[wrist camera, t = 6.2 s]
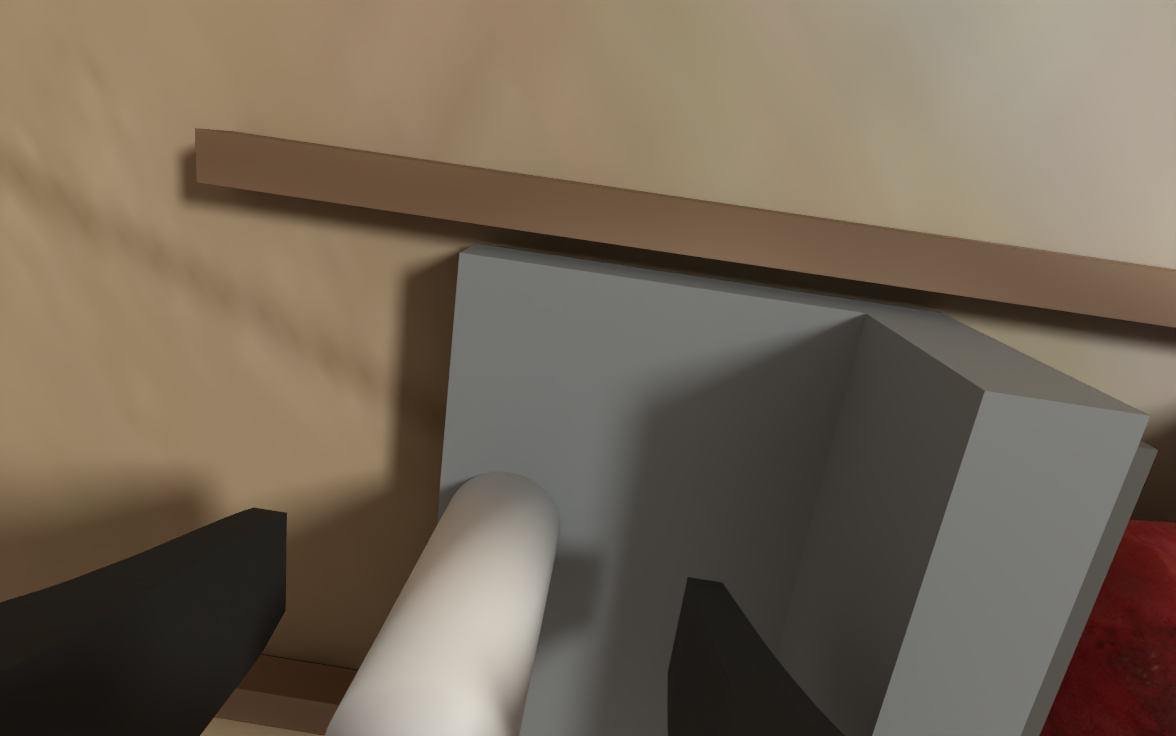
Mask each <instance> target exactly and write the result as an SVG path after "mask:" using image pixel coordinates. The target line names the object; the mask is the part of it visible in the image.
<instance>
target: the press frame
mask: <svg viewBox="0 0 1176 736" xmlns="http://www.w3.org/2000/svg"><path fill="white" fill-rule="evenodd" d="M195 145H196V181H197V182H198V183H204V184H211V185H218V186H224V187H231V188H238V189H245V190H251V191H258V192H265V193H272V194H278V195H285V196H292V197H299V198H305V199H312V200H319V201H326V202H332V203H339V204H346V205H353V206H359V207H366V208H373V209H379V210H386V211H393V212H400V213H406V214H413V215H420V216H427V217H433V218H440V219H447V220H454V221H460V222H467V223H474V224H481V225H487V226H494V227H501V228H508V229H514V230H521V231H528V232H534V233H541V234H548V235H555V236H561V237H568V238H575V239H582V240H588V241H595V242H602V243H609V244H615V245H622V246H629V247H636V248H642V249H649V250H656V251H663V252H669V253H676V254H683V255H689V256H696V257H703V258H710V259H716V260H723V261H730V262H737V263H743V264H750V265H757V266H764V267H770V268H777V269H784V270H791V271H797V272H804V273H811V274H817V275H824V276H831V277H838V278H844V279H851V280H858V281H865V282H871V283H878V284H885V285H892V286H898V287H905V288H912V289H919V290H925V291H932V292H939V293H946V294H952V295H959V296H966V297H972V298H979V299H986V300H993V301H999V302H1006V303H1013V304H1020V305H1026V306H1033V307H1040V308H1047V309H1053V310H1060V311H1067V312H1074V313H1080V314H1087V315H1094V316H1101V317H1107V318H1114V319H1121V320H1127V321H1134V322H1141V323H1148V324H1154V325H1161V326H1168V327H1175V328H1176V270H1174V269H1167V268H1161V267H1154V266H1147V265H1140V264H1133V263H1126V262H1120V261H1113V260H1106V259H1099V258H1092V257H1086V256H1079V255H1072V254H1065V253H1058V252H1051V251H1045V250H1038V249H1031V248H1024V247H1017V246H1011V245H1004V244H997V243H990V242H983V241H976V240H970V239H963V238H956V237H949V236H942V235H935V234H929V233H922V232H915V231H908V230H901V229H895V228H888V227H881V226H874V225H867V224H860V223H854V222H847V221H840V220H833V219H826V218H819V217H813V216H806V215H799V214H792V213H785V212H779V211H772V210H765V209H758V208H751V207H744V206H738V205H731V204H724V203H717V202H710V201H703V200H697V199H690V198H683V197H676V196H669V195H663V194H656V193H649V192H642V191H635V190H628V189H622V188H615V187H608V186H601V185H594V184H587V183H581V182H574V181H567V180H560V179H553V178H547V177H540V176H533V175H526V174H519V173H512V172H506V171H499V170H492V169H485V168H478V167H472V166H465V165H458V164H451V163H444V162H437V161H431V160H424V159H417V158H410V157H403V156H396V155H390V154H383V153H376V152H369V151H362V150H356V149H349V148H342V147H335V146H328V145H321V144H315V143H308V142H301V141H294V140H287V139H280V138H274V137H267V136H260V135H253V134H246V133H240V132H233V131H222V130H209V129H196V128H195ZM357 672H358V670H351V669H345V668H339V667H333V666H327V665H321V664H315V663H309V662H302V661H296V660H290V659H284V658H278V657H272V656H266V655H260V656H259V658H258V659H257V661H256V662H255V664H254V665H253V666H252V668H251V669H250V670H249V672H248V673H247V674H246V676H245V677H244V678H243V680H242V681H241V682H240V684H239V685H238V686H237V688H236V689H235V690H234V692H233V693H232V694H231V696H230V697H229V698H228V700H227V701H226V702H225V703H224V705H223V706H222V707H221V709H220V710H219V711H218V713H217V714H216V715H215V716H214V717H217V718H223V719H229V720H235V721H241V722H247V723H253V724H259V725H265V726H271V727H277V728H283V729H289V730H295V731H301V732H307V733H313V734H319V735H325V734H326V731H327V728H328V726H329V724H330V722H331V720H332V718H333V716H334V714H335V712H336V710H337V709H338V707H339V705H340V703H341V701H342V699H343V698H344V696H345V694H346V692H347V690H348V688H349V686H350V685H351V683H352V681H353V679H354V677H355V675H356V674H357Z"/></svg>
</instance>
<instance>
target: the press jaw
mask: <svg viewBox="0 0 1176 736" xmlns="http://www.w3.org/2000/svg"><path fill="white" fill-rule="evenodd" d="M1149 418H1150V415H1148V414H1146V413H1144V412H1142V411H1140V410H1138V409H1136V408H1133V407H1131V406H1129V405H1127V404H1125V403H1123V402H1121V401H1119V400H1117V399H1115V398H1113V397H1111V396H1109V395H1107V394H1105V393H1103V392H1101V391H1099V390H1097V389H1095V388H1093V387H1091V386H1089V385H1087V384H1085V383H1083V382H1081V381H1078V380H1076V379H1074V378H1072V377H1070V376H1068V375H1066V374H1064V373H1062V372H1060V371H1058V370H1056V369H1054V368H1052V367H1050V366H1048V365H1046V364H1044V363H1042V362H1040V361H1038V360H1036V359H1034V358H1032V357H1030V356H1028V355H1026V354H1024V353H1021V352H1019V351H1017V350H1015V349H1013V348H1011V347H1009V346H1007V345H1005V344H1003V343H1001V342H999V341H997V340H995V339H993V338H991V337H989V336H987V335H985V334H983V333H981V332H979V331H977V330H975V329H973V328H971V327H969V326H967V325H964V324H962V323H960V322H958V321H956V320H954V319H952V318H950V317H948V316H946V315H944V314H942V313H940V312H933V311H927V310H920V309H913V308H907V307H900V306H893V305H886V304H880V303H873V302H866V301H860V300H853V299H846V298H839V297H833V296H826V295H819V294H813V293H806V292H799V291H792V290H786V289H779V288H772V287H766V286H759V285H752V284H746V283H739V282H732V281H725V280H719V279H712V278H705V277H699V276H692V275H685V274H678V273H672V272H665V271H658V270H652V269H645V268H638V267H631V266H625V265H618V264H611V263H605V262H598V261H591V260H584V259H578V258H571V257H564V256H558V255H551V254H544V253H537V252H531V251H524V250H517V249H511V248H504V247H497V246H491V245H484V244H475V245H473V246H471V247H469V248H467V249H465V250H463V251H461V252H460V253H459V264H458V276H457V288H456V300H455V312H454V324H453V336H452V348H451V359H450V371H449V383H448V395H447V407H446V419H445V431H444V443H443V455H442V467H441V479H440V491H439V503H438V515H437V527H436V528H435V530H434V532H433V534H432V536H431V538H430V539H429V541H428V543H427V545H426V547H425V549H424V550H423V552H422V554H421V556H420V558H419V560H418V561H417V563H416V565H415V567H414V569H413V571H412V573H411V574H410V576H409V578H408V580H407V582H406V584H405V585H404V587H403V589H402V591H401V593H400V595H399V596H398V598H397V600H396V602H395V604H394V606H393V607H392V609H391V611H390V613H389V615H388V617H387V618H386V620H385V622H384V624H383V626H382V628H381V629H380V631H379V633H378V635H377V637H376V639H375V641H374V642H373V644H372V646H371V648H370V650H369V652H368V653H367V655H366V657H365V659H364V661H363V663H362V664H361V666H360V668H359V670H358V672H357V674H356V675H355V677H354V679H353V681H352V683H351V685H350V686H349V688H348V690H347V692H346V694H345V696H344V698H343V699H342V701H341V703H340V705H339V707H338V709H337V710H336V712H335V714H334V716H333V718H332V720H331V722H330V724H329V726H328V728H327V731H326V734H325V736H668V725H667V687H668V669H669V664H670V659H671V654H672V649H673V645H674V640H675V635H676V630H677V626H678V621H679V616H680V611H681V606H682V602H683V597H684V592H685V587H686V583H687V578H688V577H692V578H698V579H704V580H711V581H717V582H722V583H723V584H724V586H725V587H726V588H727V590H728V591H729V593H730V594H731V595H732V597H733V598H734V600H735V601H736V603H737V604H738V606H739V607H740V608H741V610H742V611H743V613H744V614H745V616H746V617H747V619H748V620H749V621H750V623H751V624H752V626H753V627H754V628H755V630H756V631H757V633H758V634H759V635H760V637H761V638H762V640H763V641H764V642H765V644H766V645H767V646H768V648H769V649H770V650H771V652H772V653H773V654H774V656H775V657H776V658H777V659H778V661H779V662H780V663H781V665H782V666H783V667H784V668H785V670H786V671H787V672H788V673H789V675H790V676H791V677H792V678H793V679H794V681H795V682H796V683H797V684H798V685H799V686H800V687H801V689H802V690H803V691H804V692H805V693H806V694H807V696H808V697H809V698H810V699H811V700H812V701H813V703H814V704H815V705H816V706H817V707H818V708H819V709H820V710H821V711H822V712H823V714H824V715H825V716H826V717H827V718H828V719H829V720H830V721H831V722H832V723H833V724H834V725H835V726H836V727H837V728H838V729H839V730H840V731H841V732H842V733H843V734H844V735H845V736H1040V733H1041V731H1042V728H1043V726H1044V724H1045V721H1046V719H1047V716H1048V714H1049V712H1050V709H1051V707H1052V704H1053V702H1054V700H1055V697H1056V695H1057V692H1058V690H1059V688H1060V685H1061V683H1062V680H1063V678H1064V676H1065V673H1066V671H1067V668H1068V666H1069V664H1070V661H1071V659H1072V656H1073V654H1074V652H1075V649H1076V647H1077V644H1078V642H1079V640H1080V637H1081V635H1082V632H1083V630H1084V627H1085V625H1086V623H1087V620H1088V618H1089V615H1090V613H1091V611H1092V608H1093V606H1094V603H1095V601H1096V599H1097V596H1098V594H1099V591H1100V589H1101V587H1102V584H1103V582H1104V579H1105V577H1106V575H1107V572H1108V570H1109V567H1110V565H1111V563H1112V560H1113V558H1114V555H1115V553H1116V551H1117V548H1118V546H1119V543H1120V541H1121V539H1122V536H1123V534H1124V531H1125V529H1126V527H1127V524H1128V522H1129V519H1130V517H1131V515H1132V512H1133V510H1134V507H1135V505H1136V503H1137V500H1138V498H1139V495H1140V493H1141V491H1142V488H1143V486H1144V483H1145V481H1146V479H1147V476H1148V474H1149V471H1150V469H1151V467H1152V464H1153V462H1154V459H1155V457H1156V455H1157V452H1158V450H1157V449H1156V448H1154V447H1152V446H1150V445H1148V444H1147V443H1145V442H1143V441H1141V438H1142V436H1143V433H1144V431H1145V428H1146V426H1147V423H1148V421H1149Z"/></svg>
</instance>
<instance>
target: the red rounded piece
mask: <svg viewBox="0 0 1176 736" xmlns="http://www.w3.org/2000/svg"><path fill="white" fill-rule="evenodd" d="M1040 736H1176V522H1161V521H1146V520H1131V519H1129V522H1128V524H1127V527H1126V529H1125V531H1124V534H1123V536H1122V539H1121V541H1120V543H1119V546H1118V548H1117V551H1116V553H1115V555H1114V558H1113V560H1112V563H1111V565H1110V567H1109V570H1108V572H1107V575H1106V577H1105V579H1104V582H1103V584H1102V587H1101V589H1100V591H1099V594H1098V596H1097V599H1096V601H1095V603H1094V606H1093V608H1092V611H1091V613H1090V615H1089V618H1088V620H1087V623H1086V625H1085V627H1084V630H1083V632H1082V635H1081V637H1080V640H1079V642H1078V644H1077V647H1076V649H1075V652H1074V654H1073V656H1072V659H1071V661H1070V664H1069V666H1068V668H1067V671H1066V673H1065V676H1064V678H1063V680H1062V683H1061V685H1060V688H1059V690H1058V692H1057V695H1056V697H1055V700H1054V702H1053V704H1052V707H1051V709H1050V712H1049V714H1048V716H1047V719H1046V721H1045V724H1044V726H1043V728H1042V731H1041V733H1040Z"/></svg>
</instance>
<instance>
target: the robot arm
mask: <svg viewBox="0 0 1176 736" xmlns="http://www.w3.org/2000/svg"><path fill="white" fill-rule="evenodd" d="M286 526H287V513H284V512H278V511H271V510H265V509H259V508H251V509H248V510H245V511H242V512H239V513H236V514H234V515H231V516H228V517H226V518H223V519H221V520H219V521H216V522H214V523H211V524H209V525H207V526H204V527H202V528H199V529H197V530H195V531H192V532H190V533H188V534H185V535H183V536H181V537H178V538H176V539H173V540H171V541H169V542H166V543H164V544H161V545H159V546H157V547H154V548H152V549H150V550H147V551H145V552H142V553H140V554H137V555H135V556H132V557H130V558H127V559H124V560H122V561H119V562H117V563H114V564H111V565H109V566H106V567H104V568H101V569H98V570H96V571H93V572H90V573H88V574H85V575H83V576H80V577H77V578H75V579H72V580H69V581H66V582H63V583H61V584H58V585H55V586H52V587H49V588H46V589H43V590H40V591H37V592H33V593H30V594H27V595H24V596H20V597H17V598H14V599H11V600H7V601H4V602H1V603H0V736H200V735H201V733H202V732H203V731H204V729H205V728H206V727H207V725H208V724H209V723H210V722H211V720H212V719H213V718H214V716H215V715H216V714H217V713H218V711H219V710H220V709H221V707H222V706H223V705H224V703H225V702H226V701H227V700H228V698H229V697H230V696H231V694H232V693H233V692H234V690H235V689H236V688H237V686H238V685H239V684H240V682H241V681H242V680H243V678H244V677H245V676H246V674H247V673H248V672H249V670H250V669H251V668H252V666H253V665H254V664H255V662H256V661H257V659H258V658H259V656H260V654H261V652H262V651H263V649H264V647H265V646H266V644H267V642H268V641H269V639H270V637H271V636H272V634H273V632H274V630H275V628H276V627H277V625H278V623H279V621H280V619H281V618H282V616H283V614H284V612H285V605H286ZM667 725H668V736H845V735H844V734H843V733H842V732H841V731H840V730H839V729H838V728H837V727H836V726H835V725H834V724H833V723H832V722H831V721H830V720H829V719H828V718H827V717H826V716H825V715H824V714H823V712H822V711H821V710H820V709H819V708H818V707H817V706H816V705H815V704H814V703H813V701H812V700H811V699H810V698H809V697H808V696H807V694H806V693H805V692H804V691H803V690H802V689H801V687H800V686H799V685H798V684H797V683H796V682H795V681H794V679H793V678H792V677H791V676H790V675H789V673H788V672H787V671H786V670H785V668H784V667H783V666H782V665H781V663H780V662H779V661H778V659H777V658H776V657H775V656H774V654H773V653H772V652H771V650H770V649H769V648H768V646H767V645H766V644H765V642H764V641H763V640H762V638H761V637H760V635H759V634H758V633H757V631H756V630H755V628H754V627H753V626H752V624H751V623H750V621H749V620H748V619H747V617H746V616H745V614H744V613H743V611H742V610H741V608H740V607H739V606H738V604H737V603H736V601H735V600H734V598H733V597H732V595H731V594H730V593H729V591H728V590H727V588H726V587H725V586H724V584H723V583H722V582H717V581H711V580H704V579H698V578H692V577H688V578H687V583H686V587H685V592H684V597H683V602H682V606H681V611H680V616H679V621H678V626H677V630H676V635H675V640H674V645H673V649H672V654H671V659H670V664H669V669H668V687H667Z"/></svg>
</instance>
